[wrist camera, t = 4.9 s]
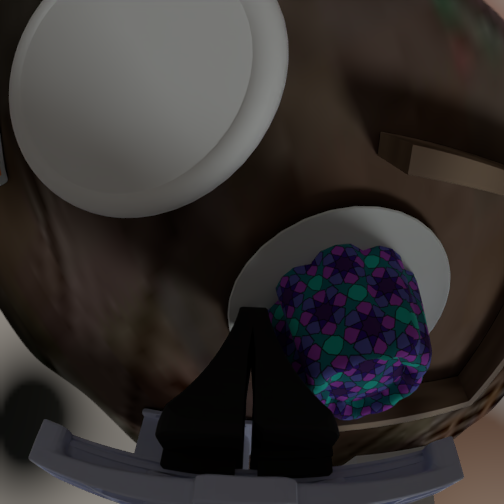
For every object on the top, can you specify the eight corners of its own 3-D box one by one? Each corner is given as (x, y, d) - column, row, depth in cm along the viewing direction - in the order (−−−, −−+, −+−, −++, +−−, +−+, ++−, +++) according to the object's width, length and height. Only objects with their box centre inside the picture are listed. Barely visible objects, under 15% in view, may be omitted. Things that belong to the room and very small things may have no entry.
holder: (313, 400, 19) (316, 433, 17) (380, 131, 10) (412, 144, 8) (460, 381, 19) (470, 405, 17) (555, 186, 10) (583, 205, 7)
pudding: (477, 257, 13) (528, 317, 8) (363, 387, 18) (377, 449, 14) (293, 151, 11) (317, 196, 6) (200, 348, 16) (185, 425, 12)
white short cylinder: (108, -43, 6) (68, -67, 3) (325, 15, 8) (351, -14, 5) (36, 148, 11) (-13, 170, 8) (215, 224, 13) (200, 270, 10)
